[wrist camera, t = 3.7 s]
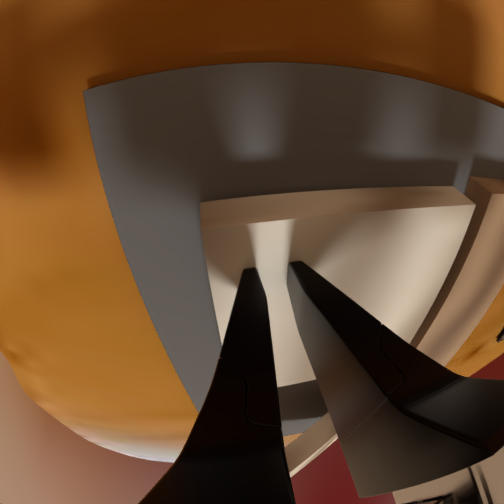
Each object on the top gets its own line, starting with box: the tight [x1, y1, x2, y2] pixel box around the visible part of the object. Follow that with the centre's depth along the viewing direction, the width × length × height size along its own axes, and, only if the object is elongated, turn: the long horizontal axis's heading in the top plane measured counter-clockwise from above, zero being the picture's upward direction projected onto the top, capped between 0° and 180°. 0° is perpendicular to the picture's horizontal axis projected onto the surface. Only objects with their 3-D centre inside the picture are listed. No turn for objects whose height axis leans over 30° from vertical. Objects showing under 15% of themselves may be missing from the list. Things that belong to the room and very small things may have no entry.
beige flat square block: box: [285, 412, 338, 477], centre depth 19 cm, size 10×10×2 cm
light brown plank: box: [410, 177, 504, 367], centre depth 17 cm, size 6×25×2 cm, turn 2°
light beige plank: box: [200, 186, 476, 387], centre depth 12 cm, size 10×10×2 cm
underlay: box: [83, 62, 504, 436], centre depth 17 cm, size 22×32×1 cm
